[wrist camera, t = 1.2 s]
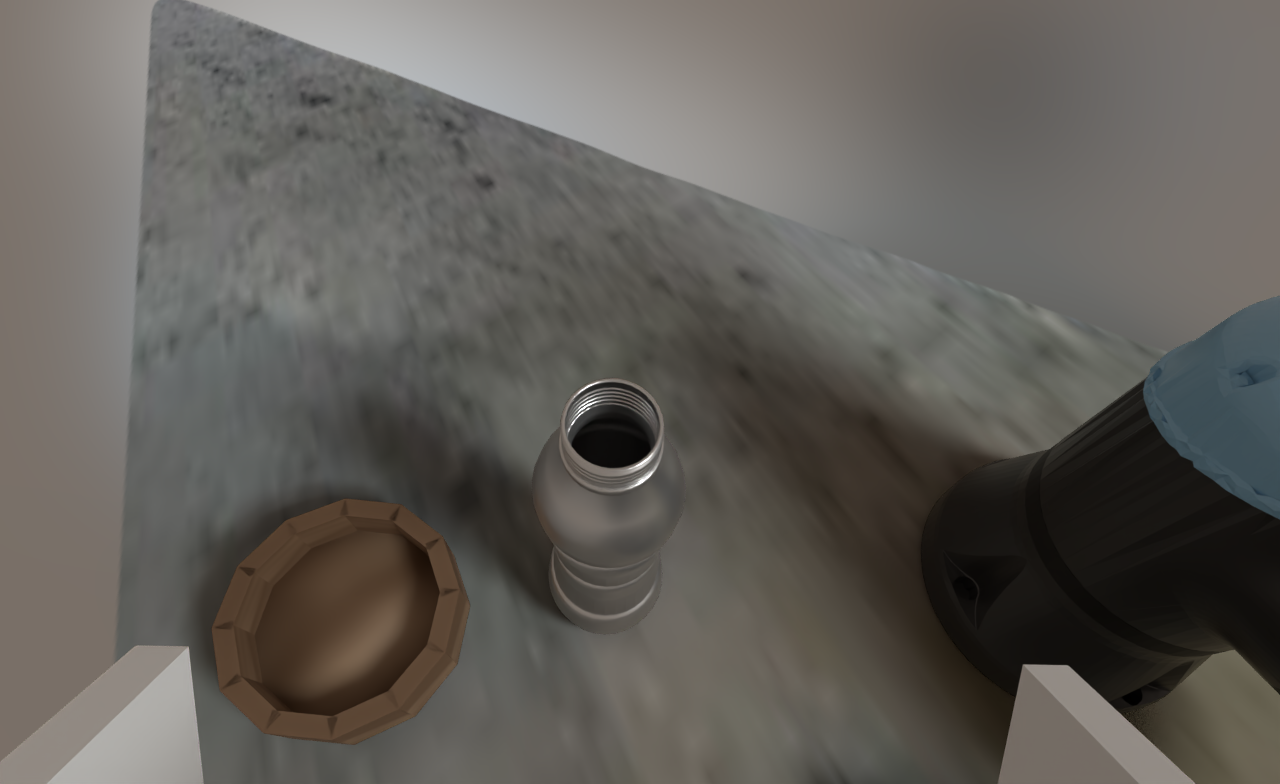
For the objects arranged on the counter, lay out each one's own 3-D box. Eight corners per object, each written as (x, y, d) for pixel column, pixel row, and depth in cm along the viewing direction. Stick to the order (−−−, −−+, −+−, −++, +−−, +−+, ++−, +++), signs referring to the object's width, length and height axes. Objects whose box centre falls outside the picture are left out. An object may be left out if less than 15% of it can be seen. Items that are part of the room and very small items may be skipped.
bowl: (509, 599, 39) (502, 582, 36) (351, 795, 33) (327, 795, 30) (365, 486, 42) (347, 462, 39) (198, 648, 36) (163, 635, 33)
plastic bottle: (558, 652, 37) (527, 533, 20) (544, 538, 41) (508, 354, 24) (669, 631, 38) (729, 501, 21) (646, 522, 42) (682, 333, 24)
